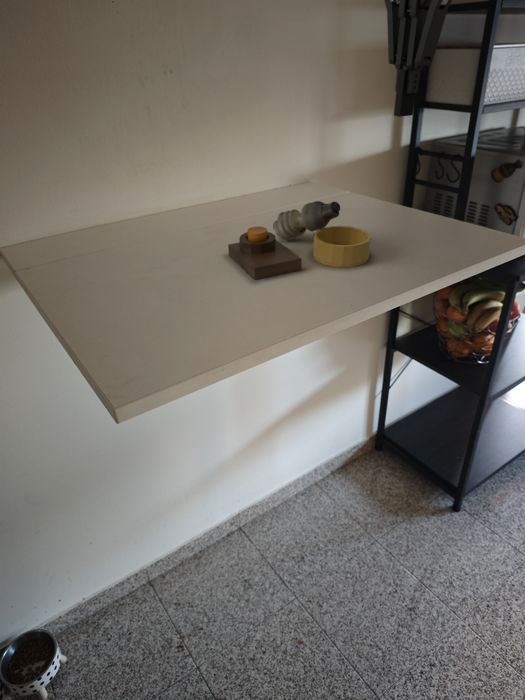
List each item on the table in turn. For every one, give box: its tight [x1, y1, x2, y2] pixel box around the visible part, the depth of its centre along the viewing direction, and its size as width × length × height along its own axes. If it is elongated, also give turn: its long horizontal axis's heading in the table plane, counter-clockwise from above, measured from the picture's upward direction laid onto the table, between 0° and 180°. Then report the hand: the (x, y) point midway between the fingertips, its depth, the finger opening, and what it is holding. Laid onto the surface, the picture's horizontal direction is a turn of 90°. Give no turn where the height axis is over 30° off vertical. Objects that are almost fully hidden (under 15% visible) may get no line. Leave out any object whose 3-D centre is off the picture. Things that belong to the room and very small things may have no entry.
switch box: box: [227, 231, 302, 281], centre depth 90 cm, size 12×9×4 cm
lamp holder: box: [312, 225, 372, 268], centre depth 92 cm, size 10×10×4 cm
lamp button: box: [246, 226, 268, 241], centre depth 90 cm, size 4×4×2 cm
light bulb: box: [272, 200, 341, 241], centre depth 95 cm, size 6×6×15 cm
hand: (403, 115), depth 82 cm, fingers closed
